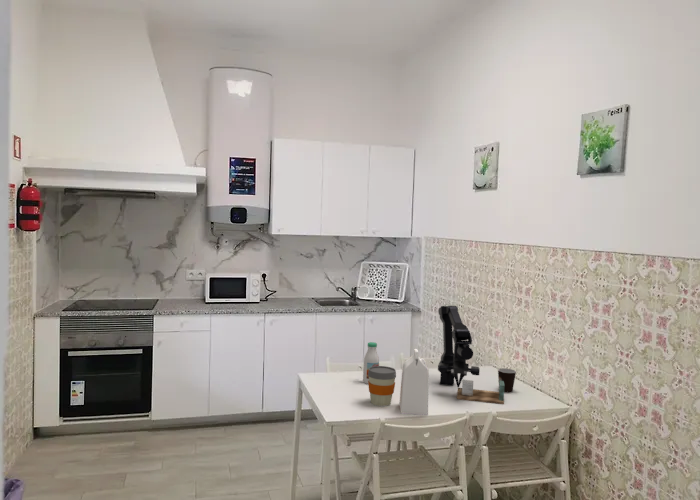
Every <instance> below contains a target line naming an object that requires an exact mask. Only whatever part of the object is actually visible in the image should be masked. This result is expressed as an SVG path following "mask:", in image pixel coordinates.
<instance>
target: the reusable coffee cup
mask: <svg viewBox="0 0 700 500" xmlns="http://www.w3.org/2000/svg"><path fill="white" fill-rule="evenodd" d="M368 376H369V381H368V384H367V385H368V392H369V395H370V396H369V397H370V403H371V405H373V406H378V407H387V406H390V405H391V404H392V398H393V394H394V393H395V392H394V391H395V387H396V382H395V381H396V378H397V370H396V369H395V368H394V367H390V366H385V365H379V366H374V367H370V368H369V371H368Z"/></svg>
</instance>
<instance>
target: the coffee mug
mask: <svg viewBox="0 0 700 500" xmlns="http://www.w3.org/2000/svg"><path fill="white" fill-rule="evenodd" d="M497 374H498V375H497V376H498V382H499V381H504V385H505V387H504V393H513V390H514V386H515V379H516V374H517V370H515V369H512V368H507V367H506V368H502V367H501V368H498V369H497Z"/></svg>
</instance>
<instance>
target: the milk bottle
mask: <svg viewBox="0 0 700 500" xmlns="http://www.w3.org/2000/svg"><path fill="white" fill-rule="evenodd" d="M377 346H378V344H377V343H376V342H373V341H372V342H371V341H370V342H367V351H366V353H365V355H364V357H363V358H364V359H363V367H362V368H363V369H362V370H363V371H362V372H363V374H362V381H363V384H366V385H368V381H369V376H368V371H369V368H370V367H374V366H380V357H379V354H378V351H377V348H378V347H377Z"/></svg>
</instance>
